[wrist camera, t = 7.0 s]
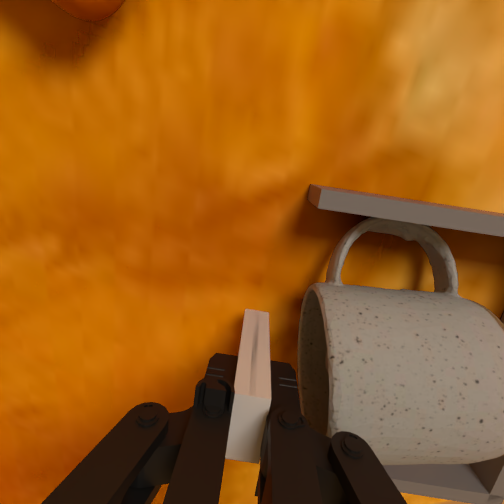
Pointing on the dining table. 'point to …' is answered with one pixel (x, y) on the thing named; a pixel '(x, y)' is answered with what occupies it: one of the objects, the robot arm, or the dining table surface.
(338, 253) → the ceramic mug
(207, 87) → the dining table surface
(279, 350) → the dining table surface
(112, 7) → the element tile
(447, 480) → the box
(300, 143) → the dining table surface
